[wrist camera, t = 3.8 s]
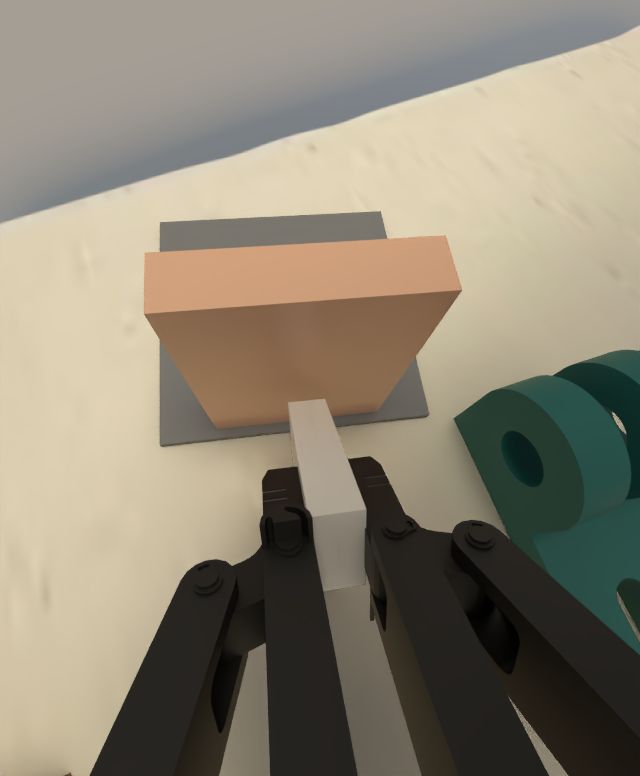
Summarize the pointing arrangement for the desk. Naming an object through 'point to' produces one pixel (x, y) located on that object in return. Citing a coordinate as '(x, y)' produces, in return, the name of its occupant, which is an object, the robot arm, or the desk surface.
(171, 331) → the tile
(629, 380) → the bracket
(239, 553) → the desk surface
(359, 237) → the mat
